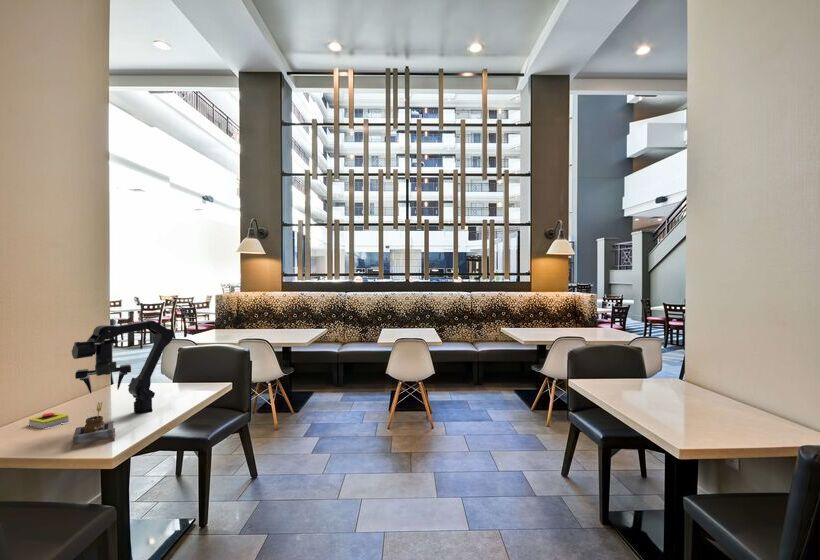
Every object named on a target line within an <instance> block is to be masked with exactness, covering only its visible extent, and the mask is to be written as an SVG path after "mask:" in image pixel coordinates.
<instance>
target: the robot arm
mask: <svg viewBox="0 0 820 560" xmlns="http://www.w3.org/2000/svg"><path fill="white" fill-rule="evenodd" d="M146 330H148V331H149V332H150V333H151V334H153V335H154V336H153V344H152V345H153V346H152V347H151V349H150V352H149V353H148V356H147V357H146V360H145V362H144V365H143V366H142V368H141V370H140V373H139V374H138V376H137V377H131V380H130V382H129V384H128V385H127V387H128V389H127V390H128V393H129V394H130V395H132V397H133V398H134V400H135V401H133V412H134V413H135V415H137V414H138V415H139V414H143V413H150V412H153V398H154V397H155V394H156V392H154V391H153V390H151V389H150V388H151V383H152V382H151V381H152V380H151V378H152V376H153V373H154V371H155V369H156V367H157V364H158V363H159V361H160V358H161V356H162V354H163V353H164V350H165V348H166V347H168V345H169V344H171V341H172V340H173V339H174V337H175V333H174V330H173V329H172V328H171V329H170V328H167V327H166V326H164V325H162V324H159V323H158V322H156V321H155V320H153V319H152V320H150V319H149V320H148V319H147V320H145V321H137V322H133V323H132V322H131V323H126V324H125V323H124V324H119V325H118V324H117V325H109V324H108V325H103V324H101V325H97V326H96V327H95V328H94V329H93V332H92V334H91V335H90V336H89V337H88V339H87V340H86V341H85V340H84V341H74V343H73V347H72V349H71V355H72V359H74V360H79V359H85V358H91V357H93V356H94V355H95V366H94V367H95V368H94V370H89V368H83V369H78V370H76V372H75V375H74V376H75V380H76V379H77V380H78V379H79V381H83V383H84V384H85V385H86V388H87V389H88V392H89V393H90V394H93V393H92V392H93V391H92V390H93V389H92V383H91V377H90V376H93V375H96V376H97V377H98V376H105V375H106V376H107V375H111V374H112V373H118V372H119V373H118V377H117V378H118V379H117V385H116V387H117V391H118V390H119V389H120V386H121V383H122V381H123V379H124V377H125V376H126V375H128V374H130V373H132V365H131V364H129V363H128V364H127V363H126V364H120V365H119V367H117V361H113V358H114V357H113V345H114V344H118V343H119V341H117V340H116V339H115V338H116V337H118V336H120V335H122V334H127V333H129V334H130V333H134V332H140V331H146Z"/></svg>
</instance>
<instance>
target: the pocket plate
mask: <svg viewBox="0 0 820 560" xmlns="http://www.w3.org/2000/svg"><path fill="white" fill-rule="evenodd" d="M84 427H85V425H84V426H77V427H75V430H74V433H73V436H72V442H71V445H70V449H71V450H77V449H81V448H85V447H89V446H90V447H91V446H96V445H102V444H105V443H106V444H107V443H110V442H111V443H112V442H115V437H116V428H115V427H114V420H112V421H107V422H104V430H102V431H96V432H91V433H85V434H84Z"/></svg>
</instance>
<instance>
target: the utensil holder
mask: <svg viewBox="0 0 820 560" xmlns="http://www.w3.org/2000/svg"><path fill="white" fill-rule="evenodd" d="M102 406H103V402H102V401H101V402H97V405H96V412H97V415H96V414H95V411H94V410H91V408H90V409H88V410H87V411H86V419H85V424H84V426H85V427H84V434H85V433H91V432H96V431H102V430H104V423H105V422H104V416H102V415H100V412H101V411H102V408H103V407H102ZM91 411H92V412H91ZM88 413H92V414H93V415H90V416H89V414H88Z"/></svg>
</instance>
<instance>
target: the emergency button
mask: <svg viewBox="0 0 820 560" xmlns="http://www.w3.org/2000/svg"><path fill="white" fill-rule="evenodd" d="M70 422H71V423H73V420H70V416H69V414H64V413H59V412H48V413H47V412H46V413H44V414H42V415H39V416H36V417H32V418H29V420H28V424H29V425H31V426H30V427H32V426H35V427H34V428H37V427H39V428H38V429H41V428H43V430H46V429H45V428H48V427H49V428H51V429H54V428H57V426H58V427H60V425H61V423H64V424H65V425H67V423H68V424H70ZM61 426H62V425H61ZM53 427H54V428H53Z"/></svg>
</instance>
